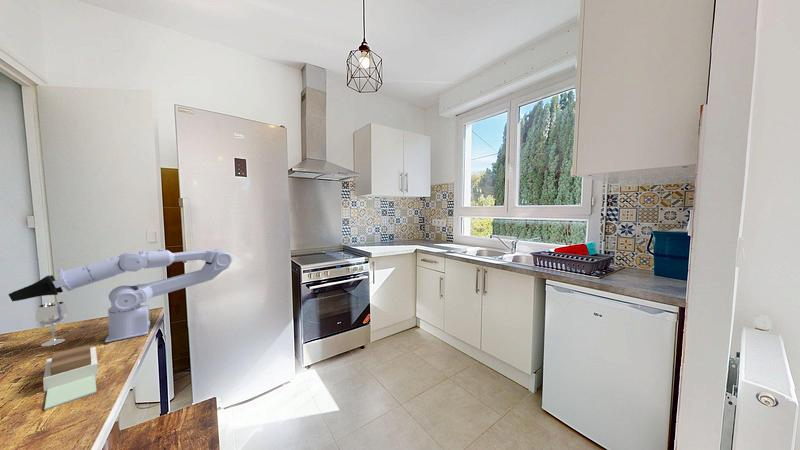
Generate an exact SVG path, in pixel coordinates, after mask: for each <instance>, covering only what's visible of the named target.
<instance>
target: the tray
mask: <svg viewBox="0 0 800 450" xmlns="http://www.w3.org/2000/svg"><path fill="white" fill-rule="evenodd" d="M90 351H91V365H88V366H84V367H81V368H77V369H74V370H70V371H67V372H63V373H60V374H56V375H53V376H51V370H50V367H51V361H52V357H50V358H47V359H46V363H45V368H44V374H43V379H42V381H43V392H47V390H48V389H51V388H54V387H57V386H60V385H63V384H67V383H70V382H73V381H76V380H80V379H83V378H86V377H89V376H93V375H95V377H96V376H99V369H98V364H99V363H98V356H97V349H96V346H93V347H90Z"/></svg>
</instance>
